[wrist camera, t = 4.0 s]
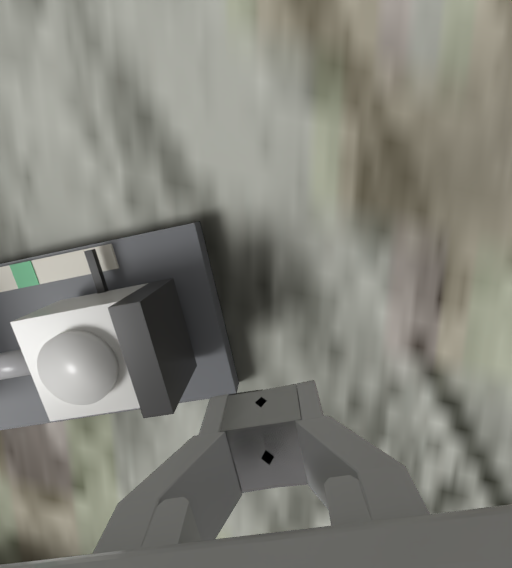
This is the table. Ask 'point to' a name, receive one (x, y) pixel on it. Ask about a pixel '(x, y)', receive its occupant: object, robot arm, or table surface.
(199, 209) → the table surface
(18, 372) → the white domed block
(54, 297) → the stand
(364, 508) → the robot arm
